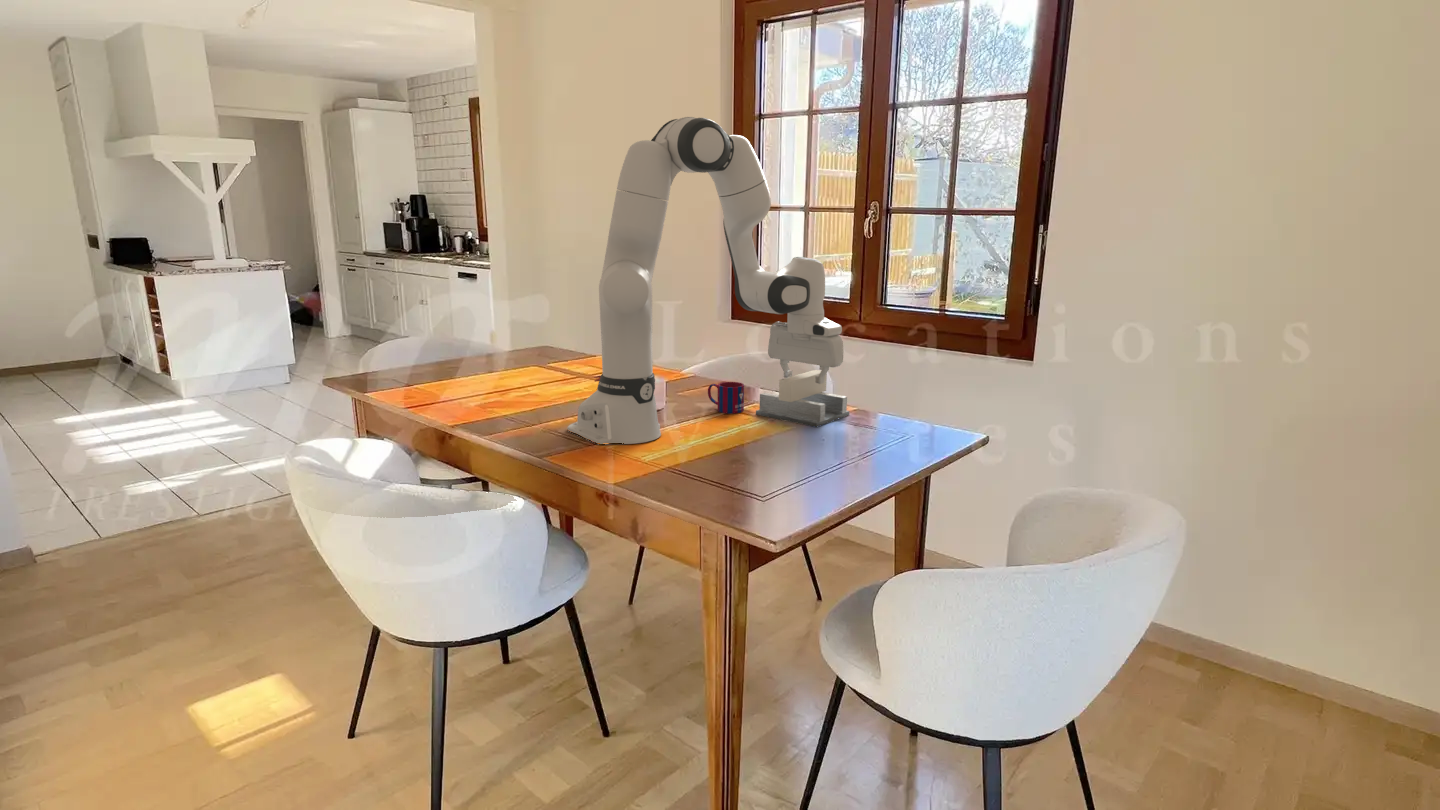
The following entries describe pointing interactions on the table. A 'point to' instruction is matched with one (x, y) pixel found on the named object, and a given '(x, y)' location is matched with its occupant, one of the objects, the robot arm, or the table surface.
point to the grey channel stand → (804, 408)
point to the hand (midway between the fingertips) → (803, 380)
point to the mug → (729, 397)
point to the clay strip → (800, 386)
